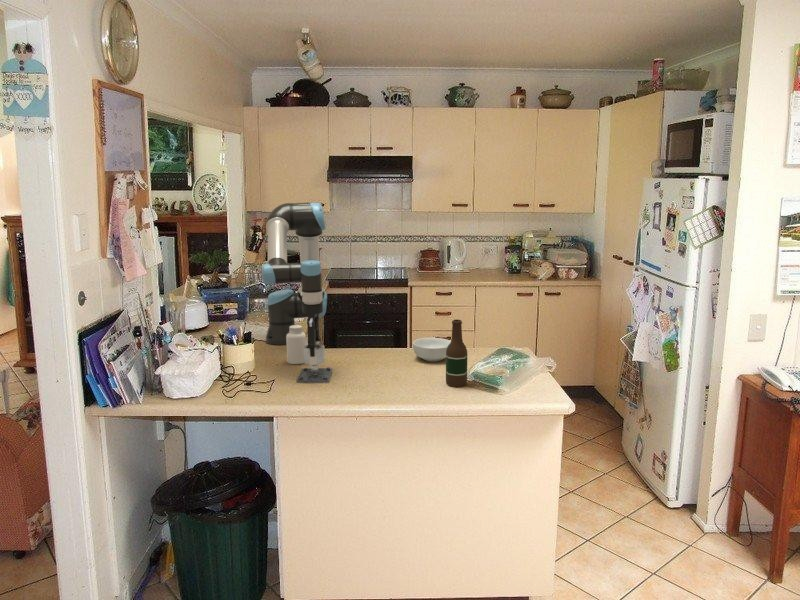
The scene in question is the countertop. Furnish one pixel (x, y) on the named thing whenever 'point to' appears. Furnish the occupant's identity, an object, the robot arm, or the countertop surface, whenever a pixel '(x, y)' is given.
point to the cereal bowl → (431, 348)
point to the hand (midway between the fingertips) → (314, 361)
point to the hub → (319, 350)
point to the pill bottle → (295, 345)
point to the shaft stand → (315, 374)
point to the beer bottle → (456, 358)
